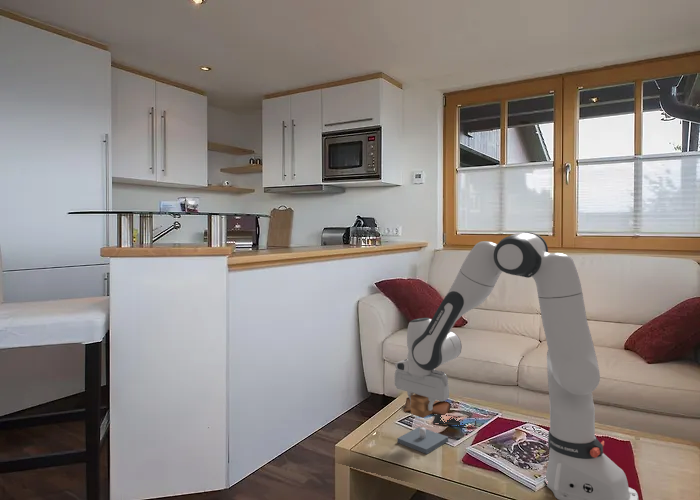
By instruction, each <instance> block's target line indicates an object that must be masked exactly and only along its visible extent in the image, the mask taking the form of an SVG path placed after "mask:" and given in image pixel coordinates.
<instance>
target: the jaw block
mask: <svg viewBox="0 0 700 500" xmlns="http://www.w3.org/2000/svg"><path fill="white" fill-rule="evenodd" d="M429 402H430V401H429V400H428V397H424V396H421V395H418V394H413V395H412V396H411V413H410V414H411V415H413V416H416V417H420V418H422V419H424V418H426V417H428V416H431V415H430V414H432V410H431V411H429V410H426V405H427V404H429Z"/></svg>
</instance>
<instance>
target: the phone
mask: <svg viewBox="0 0 700 500" xmlns="http://www.w3.org/2000/svg"><path fill="white" fill-rule="evenodd" d="M446 416H447V415H446ZM448 416H452V415H449V414H448ZM457 416H458V417H463V415H462V416H459V415H457ZM440 417H441V414H437V415H434V417H433V418H434V419H433V421H432V422H434V423H439V424H448V425H457V426H458V425H459V426H466V425H460V422H459V421H460V420H459V421H456V420H457V419H456V420H455V419H454V418H453V419H451V418H452V417H451V418H450V419H451V420H450V419H449V420H447V422H445V421H444V422H445V423H444V422H443V421H442V420H441V418H442V417H441V418H440ZM466 417H467V418H473V417H472V416H471V417H470V416H466ZM474 418H475V419H476V420H477V421H478V419H477V418H476V417H474ZM440 420H441V421H440ZM443 420H444V419H443ZM448 421H449V422H448ZM462 424H463V423H462ZM474 426H476V427H477V423H476V421H475V425H474ZM471 427H472V426H471Z"/></svg>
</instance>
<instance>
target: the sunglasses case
mask: <svg viewBox="0 0 700 500" xmlns="http://www.w3.org/2000/svg"><path fill="white" fill-rule="evenodd" d="M451 405H452V404H451V402H450V401H447V400H445V401H443V402H441V401H438V400H435V402H434V404H433V409H432V414H441V415H445V414H446V413H448V411H449V410H450V408H451V409H452V406H451ZM450 411H451V410H450ZM450 411H449V412H450ZM403 413H409V414H411V404H410V399H409V397H406V400H405V404H404V409H403Z"/></svg>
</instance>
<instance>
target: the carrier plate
mask: <svg viewBox="0 0 700 500" xmlns="http://www.w3.org/2000/svg"><path fill="white" fill-rule="evenodd" d="M447 441H448V442H449V436H447V435H444V434H441V433H439V432H435V431H433V430H429V429H427V428H426V427H421V426H418V427H416V428H414V429H412V430H410V431H408V432H407V433H404V434H403V435H401V436H399V437H397V441H396V442H397V444H400V445H402V446H404V447H408V448H410V449H412V450H415V451H418V452H421V453H423V454H426V455H427V454H429V453H431V452H432V451H435V450H436V449H438V448H439V447H441V446H442V445H444V444H447V443H448V442H447Z"/></svg>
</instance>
